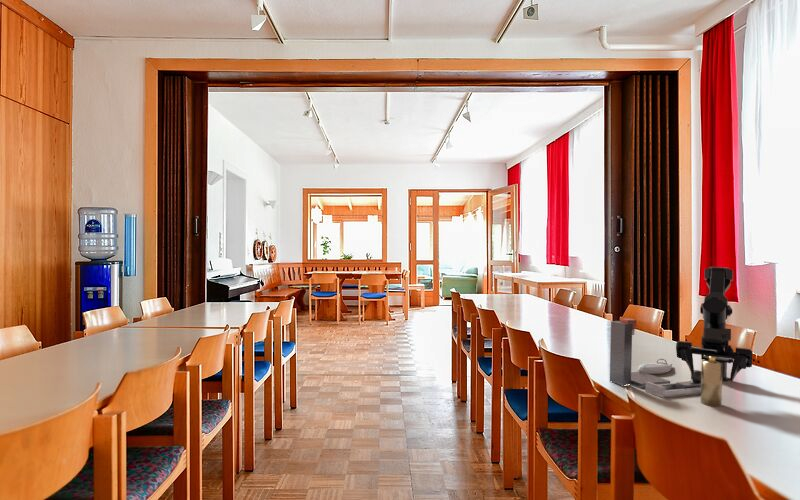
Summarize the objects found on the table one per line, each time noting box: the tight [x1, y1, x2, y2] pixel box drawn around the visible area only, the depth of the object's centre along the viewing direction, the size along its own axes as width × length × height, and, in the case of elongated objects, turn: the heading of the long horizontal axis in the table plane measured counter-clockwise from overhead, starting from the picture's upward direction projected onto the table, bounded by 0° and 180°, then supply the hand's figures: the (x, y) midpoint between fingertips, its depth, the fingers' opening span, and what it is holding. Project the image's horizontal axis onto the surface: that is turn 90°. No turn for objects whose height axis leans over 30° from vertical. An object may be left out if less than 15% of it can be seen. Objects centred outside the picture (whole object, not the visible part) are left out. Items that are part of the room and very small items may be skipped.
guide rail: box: [644, 382, 701, 399], centre depth 146 cm, size 20×6×3 cm, turn 108°
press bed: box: [609, 317, 671, 389], centre depth 156 cm, size 16×12×21 cm
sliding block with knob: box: [675, 369, 702, 390], centre depth 148 cm, size 8×3×6 cm, turn 108°
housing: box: [700, 356, 723, 408], centre depth 136 cm, size 5×5×14 cm
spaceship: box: [637, 358, 673, 375], centre depth 171 cm, size 23×7×4 cm, turn 125°
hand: (711, 377), depth 135 cm, fingers open, 9 cm apart
